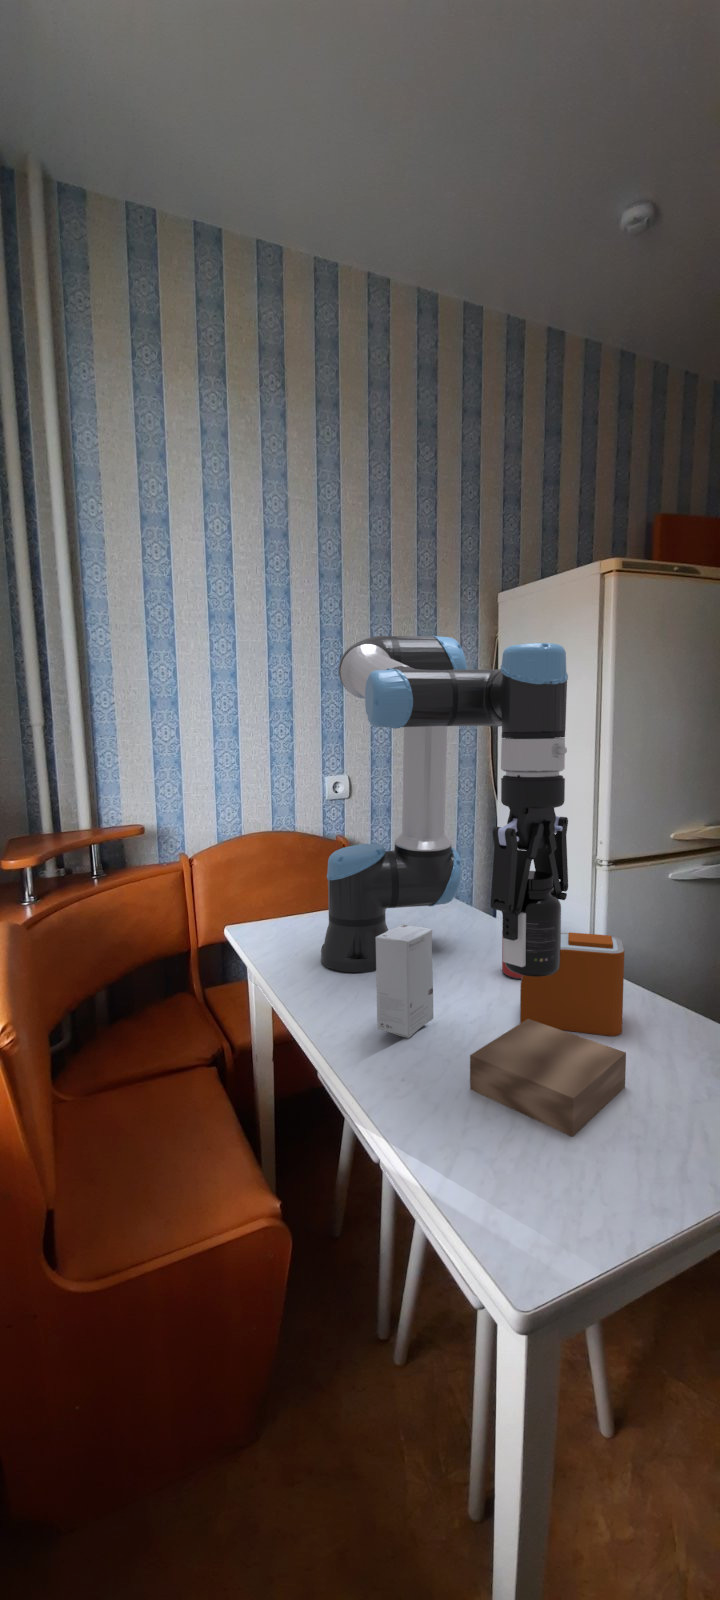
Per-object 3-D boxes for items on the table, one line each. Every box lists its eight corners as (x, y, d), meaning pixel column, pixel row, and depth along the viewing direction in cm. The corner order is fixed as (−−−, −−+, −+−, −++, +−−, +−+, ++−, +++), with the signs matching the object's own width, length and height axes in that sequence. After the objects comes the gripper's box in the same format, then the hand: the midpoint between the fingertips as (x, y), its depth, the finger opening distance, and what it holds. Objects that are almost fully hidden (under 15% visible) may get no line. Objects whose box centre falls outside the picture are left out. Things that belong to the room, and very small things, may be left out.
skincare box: (409, 1039, 96) (408, 942, 94) (374, 1029, 99) (373, 936, 97) (435, 1018, 103) (434, 927, 101) (402, 1009, 106) (401, 921, 104)
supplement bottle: (497, 959, 84) (498, 869, 83) (548, 957, 85) (549, 867, 84) (513, 979, 78) (514, 881, 76) (569, 976, 78) (570, 879, 77)
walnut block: (470, 1092, 83) (470, 1055, 82) (527, 1052, 92) (528, 1018, 92) (572, 1140, 73) (573, 1098, 72) (624, 1089, 83) (626, 1052, 82)
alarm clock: (618, 1013, 103) (621, 931, 102) (623, 1038, 95) (625, 949, 94) (523, 1003, 108) (524, 924, 106) (519, 1025, 100) (520, 940, 98)
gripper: (514, 780, 69) (512, 986, 72) (599, 770, 83) (595, 943, 85) (458, 777, 75) (458, 969, 77) (546, 768, 88) (544, 931, 91)
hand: (530, 955), depth 81 cm, fingers closed on supplement bottle, 7 cm apart
